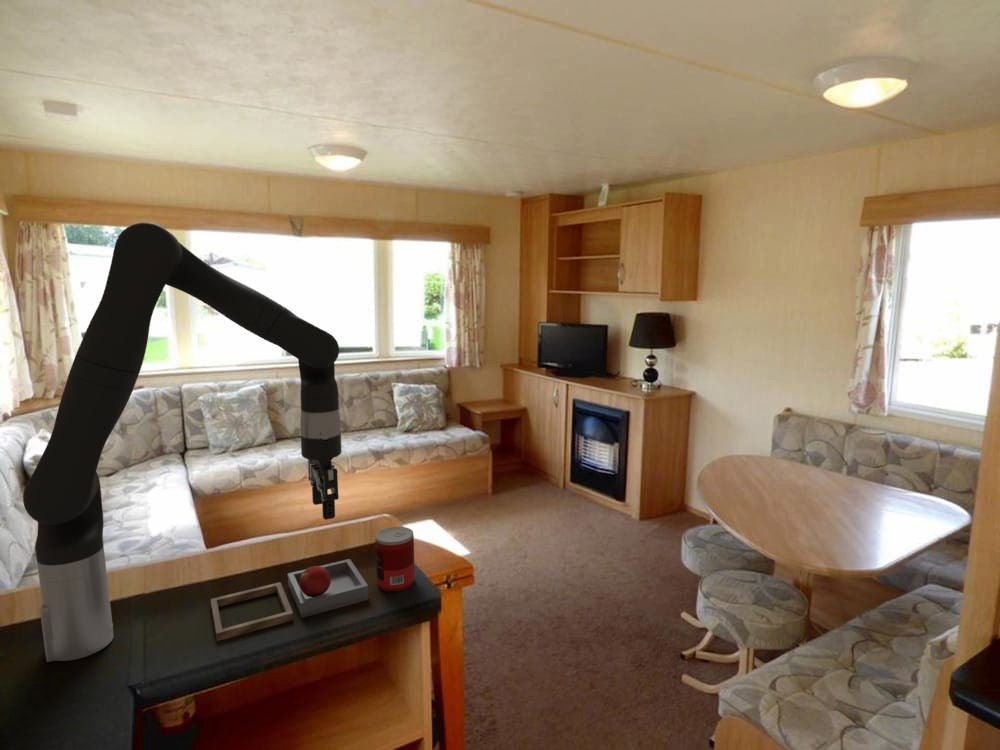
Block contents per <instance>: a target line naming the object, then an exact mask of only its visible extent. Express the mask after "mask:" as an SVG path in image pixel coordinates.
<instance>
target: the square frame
mask: <svg viewBox="0 0 1000 750" xmlns="http://www.w3.org/2000/svg"><path fill="white" fill-rule="evenodd" d="M271 594H277V597H278V600H279V602H280V605H281V607H282V610H283V612H281V613H277V614H276V613H275V614H273V615H269V616H266V617H261V618H258V619H254V620H250V621H247V622H244V623H238V624H235V625H232V626H228V627H224V628H223V627H222V620H221V614H220V611H219V607H223V606H228V605H231V604H232V605H233V604H235V603H239V602H243V601H247V600H251V599H256V598H260V597H264V596H267V595H271ZM210 607H211V613H212V619H213V624H214V625H213V626H214V630H215V631H214V632H215V637H216V642H219V641H222V640H223V641H224V640H226V639H231V638H234V637H238V636H240V635H244V634H248V633H252V632H255V631H259V630H262V629H266V628H271V627H274V626H278V625H281V624H284V623H288V622H292V621H294V612H293V610H292V607H291V604H290V602H289V600H288V597H287V595H286V592H285V589H284V588H283V585H282V583H281V581H280V582H275V583H272V584H271V583H270V584H268V585H262V586H257V587H256V588H255V587H254V588H252V589H247V590H243V591H238V592H234V593H231V594H226V595H221V596H217V597H213V598H210Z"/></svg>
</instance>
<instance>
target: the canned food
mask: <svg viewBox="0 0 1000 750" xmlns="http://www.w3.org/2000/svg"><path fill="white" fill-rule="evenodd" d="M414 537H415V536H414V531H413V530H412V529H411V528H408V527H406V526H391V527H386V528H383V529H381V530H379V531H378V532H376V533H375V537H374V538H375V539H374V540H375V542H374V543H375V569H376V573H375V574H376V584H377V586H378V588H379V589H380V590H381V591H385V592H389V591H396V592H399V591H398V590H401V591H404V590H406V589H408V588H410V587H411V586H412V585H413V583H414V580H415V539H414ZM403 589H404V590H403Z"/></svg>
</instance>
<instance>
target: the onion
mask: <svg viewBox="0 0 1000 750" xmlns="http://www.w3.org/2000/svg"><path fill="white" fill-rule="evenodd" d="M319 566H320V565H313V566H309V567H308V568H306V570H305V569H304V570H305V571H304V572H303V573H302V574H301V577H300V581H299V585H300V588H301V591H302V592H303V593H304V594H305V595H306V596H309V597H316V596H320V595H322V594H324V593H325V592H326V591H327V590H328V588H329V586H330V583H331V577H330V574H329V572H328V571H327V570H326V569H325V568H323V567H319Z"/></svg>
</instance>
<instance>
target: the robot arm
mask: <svg viewBox="0 0 1000 750" xmlns="http://www.w3.org/2000/svg"><path fill="white" fill-rule="evenodd" d="M165 286H168V287H172V288H174V289H176V290H179V291H181V292H183V293H185V294H186V295H190V296H192V297H193V298H195V299H197V300H198V301H201V302H202V303H204V304H205V305H207V306H209V307H210V308H212V309H213V310H215V311H216V312H218V313H219V314H221V315H222V316H224V317H225V318H226V319H228V320H230V321H231V322H233V323H235V324H236V325H238V326H240V327H241V328H243V329H244V330H246V331H248V332H250V333H251V334H253V335H256V336H257V337H259V338H261V339H263V340H264V341H266V342H268V343H271V344H274V345H275V346H277V347H278V348H280V349H282V350H283V351H285V352H287V353H288V354H290V355H291V356H293V357H294V358H296V359H298V370H299V375H300V377H299V378H300V420H299V425H300V427H299V428H300V447H301V448H300V453H301V456H302V458H303V459H305V460H307V463H308V464H307V465H308V468H307V469H308V472H307V473H308V478H307V479H308V480H309V481H310V483H309V484H310V486H311V492H312V493H311V495H312V496H311V497H312V504H313V505H315V506H317V505H322V509H321V510H322V518H323V520H325V521H327V520H331V519H335V517H336V505H335V501H337V500H339V497H340V496H339V482H338V481H339V480H338V473H339V472H338V469H337V468H335V465H334V464H333V462H332V460H333V459H334V458H337V457H340V455H341V453H342V432H341V431H342V430H341V428H342V427H341V424H342V423H341V415H340V409H339V408H340V404H339V401H340V400H339V387H338V383H337V381H336V376H335V374H336V373H335V371H336V370H335V362H336V361H337V360H338V358H339V354H340V346H339V342H338V341H337V338H335V337H334V336H333V335H332V334H331V333H329V332H328V331H326V330H324V329H322V328H319V326H316V325H315V324H312V323H311V322H308V321H306V320H304V319H303V318H301V317H299V316H297V315H296V314H295V313H293V312H292V310H289V309H288V308H287V307H285V306H283V305H282V304H281V303H278V302H277V301H275V300H274V299H271V298H270V297H268V296H266V295H265V294H264V293H261V292H260V291H257V290H255V289H254V288H252V287H250V286H248V285H246V284H244V283H242V282H239V281H238V280H236V279H234V278H232V277H230V276H228V275H226V274H224V273H223V272H220V271H219V270H217V269H216V268H214V267H213V266H211V265H210V264H208V263H206V262H205V261H204V260H202V259H200V258H199V257H198V256H196V255H195V254H194V253H193V252H192V251H190V250H189V248H187V247H185V245H183V244H182V243H181V242H180V241H178V239H177V237H176V236H175V235H173V234H172V233H171V232H170V231H169V230H168V229H166V228H164V227H163V226H161V225H158V224H157V223H153V222H138V223H134V224H132V225H129V226H127V227H126V228H125V229H124V230H122V231H121V232H120V233H119V235H118V236H117V239H116V240H115V244H114V249H113V253H112V257H111V262H110V267H109V271H108V275H107V279H106V283H105V287H104V290H103V294H102V297H101V299H100V302H99V303H98V306H97V308H96V310H95V312H94V314H93V316H92V318H91V320H90V321H89V323H88V324H89V325H88V326H87V328H86V330H85V333H84V336H83V337H82V339H81V342H80V344H79V347H78V348H77V350H76V353H75V356H74V359H73V361H72V363H71V367H70V370H69V372H68V376H67V379H66V382H65V385H64V389H63V391H62V395H61V399H60V402H59V405H58V409H57V412H56V417H55V420H54V425H53V428H52V431H51V435H50V437H49V440H48V443H47V444H46V447H45V449H44V451H43V453H42V455H41V457H40V458H39V461H38V463H37V464H36V467H35V469H34V470H33V472H32V475H31V476H30V478H29V479H28V481H27V482H26V485H25V487H24V489H23V493H22V501H23V506H24V509H25V511H26V513H27V514H28V515H29V517H30V518H32V520H33V521H36V522H37V536H36V541H35V546H34V549H35V550H34V551H35V558H36V565H37V574H38V578H39V579H38V580H39V586H40V587H39V588H40V594H41V601H42V603H41V607H40V609H39V614H40V622H41V627H42V628H41V629H42V630H41V631H42V635H43V643H44V644H43V646H44V651H45V652H44V653H45V658H46V663H50V662H55V661H56V662H58V661H59V662H66V661H67V662H69V661H75V660H79V659H83V658H86V657H89V656H91V655H93V654H96V653H97V652H99V651H101V650H103V649H104V648H106V647H107V646H108V645H109V644H110V643H111V642H112V641H113V639H114V624H113V617H112V610H111V609H112V608H111V607H112V606H111V601H110V591H109V584H108V583H109V582H108V574H107V573H108V572H107V565H106V556H105V545H104V511H103V502H102V501H103V500H102V490H101V482H100V477H99V474H98V471H97V470H98V466H99V463H100V459H101V455H102V453H103V451H104V450H103V449H104V448H105V446H106V443H107V441H108V439H109V437H110V435H112V434H111V433H112V431H114V428H115V426H116V425H117V424H118V422H119V420H120V418H121V417H122V414H123V412H124V410H125V408H126V407H127V404H128V402H129V400H130V398H131V396H132V393H133V391H134V389H135V386H136V383H137V381H138V377H139V376H140V372H141V369H142V365H143V363H144V360H145V356H146V351H147V346H148V342H149V341H148V340H149V333H150V326H151V320H152V318H153V317H152V316H153V314H154V310H155V308H156V306H157V303H158V302H159V299H160V297H161V295H162V292H163V291H164V288H165ZM329 490H330V493H328V491H329Z"/></svg>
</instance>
